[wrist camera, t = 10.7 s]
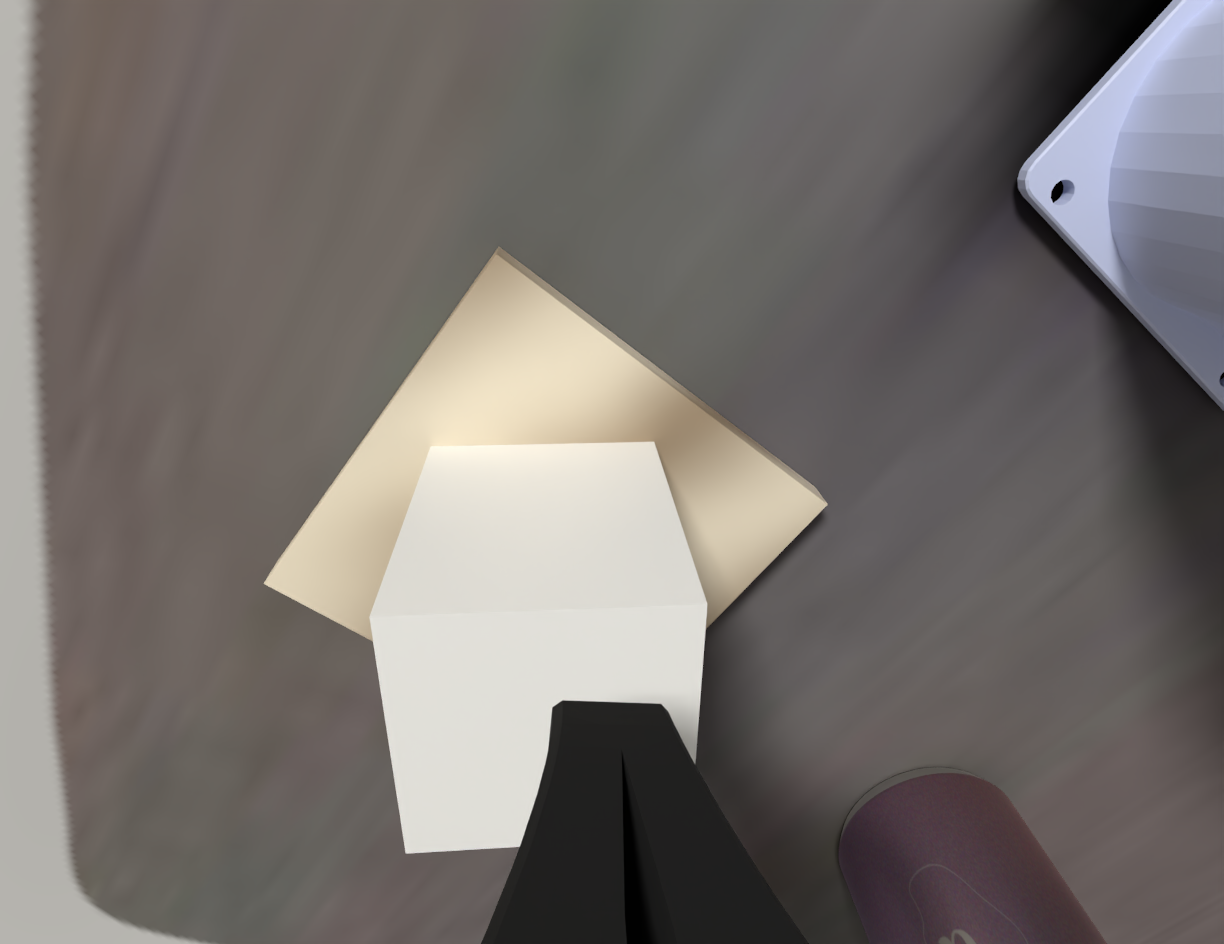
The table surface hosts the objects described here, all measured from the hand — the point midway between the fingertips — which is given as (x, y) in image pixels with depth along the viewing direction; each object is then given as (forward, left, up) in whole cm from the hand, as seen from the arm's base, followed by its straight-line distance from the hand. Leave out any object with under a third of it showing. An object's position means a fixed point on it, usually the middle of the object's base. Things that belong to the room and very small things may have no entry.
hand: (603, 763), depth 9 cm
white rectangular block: (-1, +2, -9) cm, 10 cm away
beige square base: (-1, +2, -10) cm, 11 cm away
